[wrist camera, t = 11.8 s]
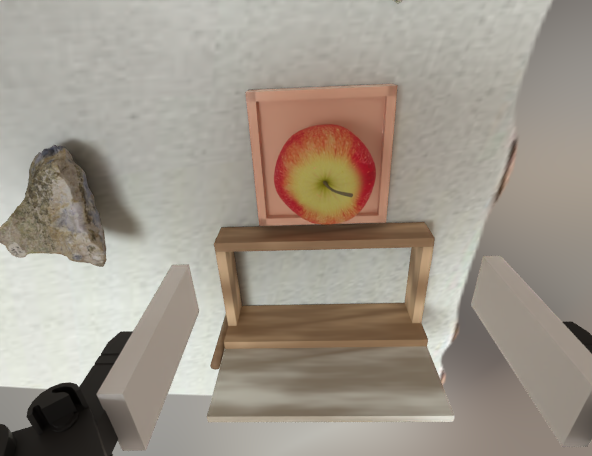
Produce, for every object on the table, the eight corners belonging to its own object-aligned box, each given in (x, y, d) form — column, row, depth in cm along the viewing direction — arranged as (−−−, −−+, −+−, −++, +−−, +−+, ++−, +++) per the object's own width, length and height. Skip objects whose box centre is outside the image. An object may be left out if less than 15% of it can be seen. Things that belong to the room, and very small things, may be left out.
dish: (248, 89, 32) (245, 92, 30) (392, 83, 31) (397, 85, 30) (261, 218, 38) (259, 225, 36) (382, 214, 37) (385, 222, 36)
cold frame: (210, 227, 39) (165, 314, 26) (424, 222, 38) (482, 309, 25) (226, 317, 45) (195, 422, 32) (411, 315, 44) (452, 422, 31)
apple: (371, 190, 35) (393, 240, 26) (288, 206, 36) (282, 258, 27) (360, 106, 31) (381, 130, 23) (268, 126, 32) (254, 157, 24)
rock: (100, 273, 33) (-6, 264, 33) (130, 250, 39) (39, 242, 39) (91, 152, 30) (-28, 142, 30) (124, 147, 36) (25, 138, 36)
